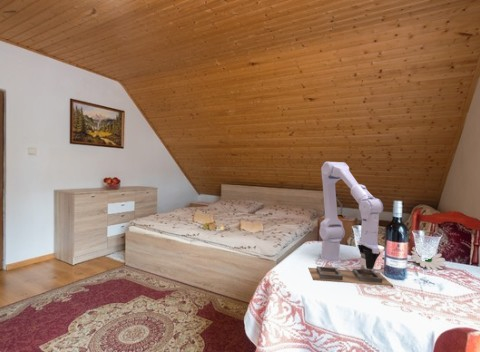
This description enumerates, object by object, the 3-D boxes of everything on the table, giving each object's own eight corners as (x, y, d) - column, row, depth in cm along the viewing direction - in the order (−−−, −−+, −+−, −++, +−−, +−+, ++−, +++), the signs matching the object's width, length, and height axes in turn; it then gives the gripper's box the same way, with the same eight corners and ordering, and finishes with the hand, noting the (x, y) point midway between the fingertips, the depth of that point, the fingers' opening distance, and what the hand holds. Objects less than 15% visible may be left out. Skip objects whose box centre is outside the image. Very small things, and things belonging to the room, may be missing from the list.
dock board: (307, 268, 112) (308, 264, 112) (379, 273, 110) (379, 268, 110) (313, 281, 100) (313, 276, 100) (393, 287, 98) (393, 281, 98)
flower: (367, 242, 132) (440, 243, 123) (367, 250, 135) (438, 251, 126) (371, 265, 122) (451, 268, 113) (371, 273, 125) (449, 276, 115)
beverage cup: (372, 263, 121) (374, 232, 120) (385, 268, 116) (388, 235, 115) (363, 266, 117) (365, 233, 117) (377, 271, 112) (379, 237, 112)
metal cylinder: (358, 270, 106) (359, 251, 106) (369, 271, 106) (370, 251, 106) (362, 274, 102) (362, 255, 102) (373, 275, 102) (374, 255, 102)
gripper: (352, 225, 111) (350, 258, 112) (365, 235, 96) (363, 273, 97) (370, 226, 110) (368, 260, 111) (386, 236, 96) (384, 274, 97)
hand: (367, 266), depth 104 cm, fingers closed on metal cylinder, 4 cm apart
